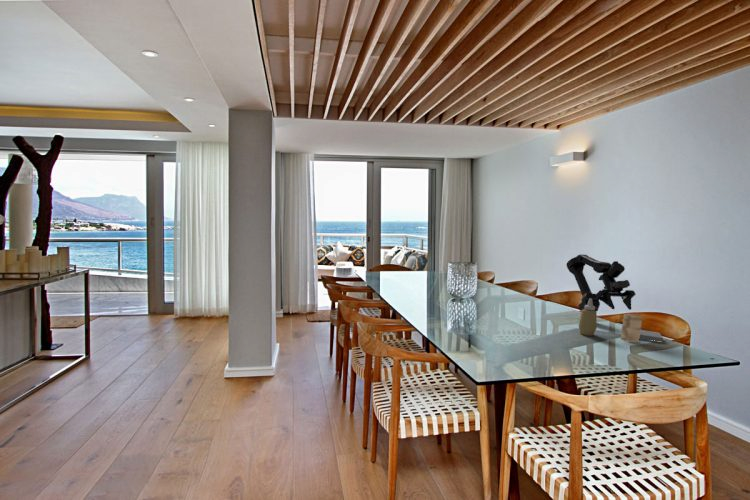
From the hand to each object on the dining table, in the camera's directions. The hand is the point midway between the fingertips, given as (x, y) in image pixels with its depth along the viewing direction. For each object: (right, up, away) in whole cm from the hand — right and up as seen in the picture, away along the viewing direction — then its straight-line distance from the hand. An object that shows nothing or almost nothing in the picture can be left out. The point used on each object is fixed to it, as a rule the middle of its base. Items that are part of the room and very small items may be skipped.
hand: (622, 309), depth 224 cm
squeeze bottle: (-18, -13, 0) cm, 22 cm away
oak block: (0, -14, -6) cm, 16 cm away
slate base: (+13, -14, 0) cm, 19 cm away
